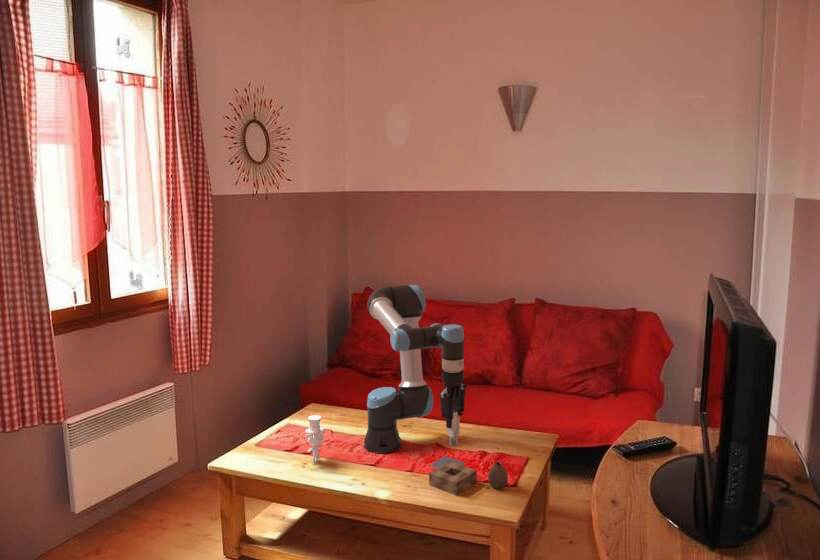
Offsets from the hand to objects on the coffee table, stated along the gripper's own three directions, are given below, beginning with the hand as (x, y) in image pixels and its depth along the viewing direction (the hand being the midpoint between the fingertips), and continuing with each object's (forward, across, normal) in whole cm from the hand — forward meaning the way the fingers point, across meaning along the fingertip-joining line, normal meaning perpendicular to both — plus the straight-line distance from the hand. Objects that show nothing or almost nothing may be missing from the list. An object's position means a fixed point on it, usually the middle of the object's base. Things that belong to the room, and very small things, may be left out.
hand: (453, 434), depth 228 cm
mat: (+19, +11, +11) cm, 25 cm away
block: (+19, 0, 0) cm, 19 cm away
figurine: (+19, -18, +52) cm, 58 cm away
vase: (+19, +9, -13) cm, 25 cm away
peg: (+4, 0, 0) cm, 4 cm away
